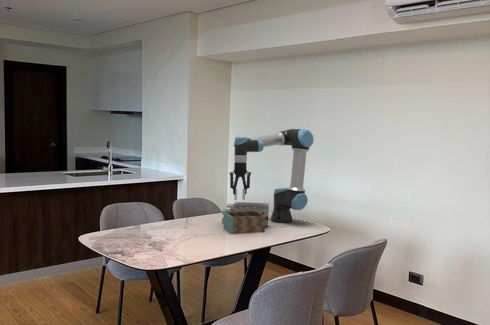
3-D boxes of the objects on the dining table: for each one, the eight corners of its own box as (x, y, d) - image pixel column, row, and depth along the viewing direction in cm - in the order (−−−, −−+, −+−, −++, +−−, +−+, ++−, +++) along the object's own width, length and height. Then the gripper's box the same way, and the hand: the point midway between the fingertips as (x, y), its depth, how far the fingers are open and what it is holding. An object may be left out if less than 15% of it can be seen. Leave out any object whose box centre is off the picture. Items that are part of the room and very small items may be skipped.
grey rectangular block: (223, 223, 299) (223, 201, 298) (268, 225, 296) (268, 203, 295) (221, 226, 291) (221, 203, 290) (267, 228, 288) (268, 205, 287)
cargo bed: (255, 228, 286) (255, 210, 286) (264, 234, 271) (265, 215, 270) (225, 230, 280) (226, 212, 279) (233, 236, 265) (234, 217, 264)
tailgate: (225, 227, 280) (225, 212, 279) (233, 233, 265) (233, 217, 264) (223, 228, 279) (223, 212, 278) (231, 234, 264) (231, 217, 263)
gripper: (251, 161, 277) (250, 198, 279) (224, 161, 271) (224, 199, 273) (256, 162, 270) (255, 200, 272) (228, 162, 264) (227, 201, 266)
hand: (239, 199), depth 273 cm, fingers open, 4 cm apart
